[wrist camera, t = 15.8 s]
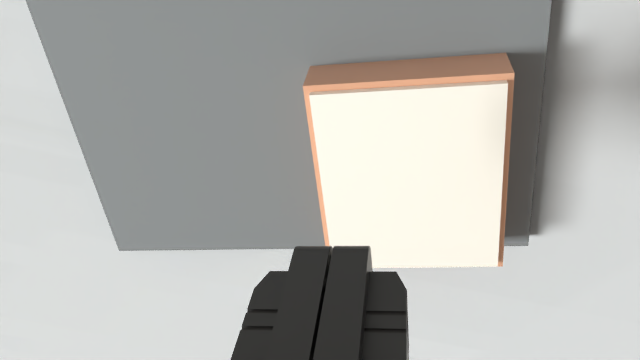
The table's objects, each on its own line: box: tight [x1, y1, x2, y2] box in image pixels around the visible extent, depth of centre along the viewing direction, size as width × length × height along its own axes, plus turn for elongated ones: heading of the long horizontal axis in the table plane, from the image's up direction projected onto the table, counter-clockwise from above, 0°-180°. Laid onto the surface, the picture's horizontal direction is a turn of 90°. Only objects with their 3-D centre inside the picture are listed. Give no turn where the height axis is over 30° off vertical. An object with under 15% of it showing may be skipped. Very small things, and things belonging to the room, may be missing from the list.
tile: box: [303, 53, 515, 268], centre depth 19 cm, size 2×6×7 cm
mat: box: [26, 0, 552, 251], centre depth 20 cm, size 16×12×1 cm
